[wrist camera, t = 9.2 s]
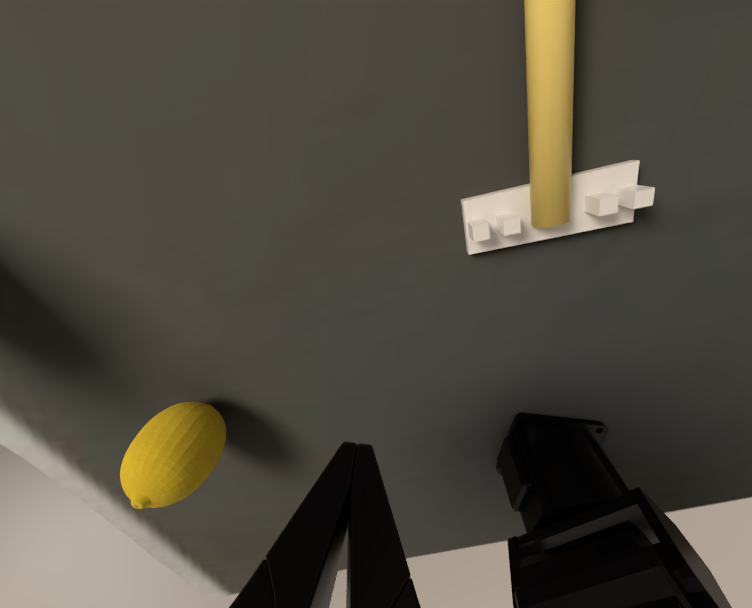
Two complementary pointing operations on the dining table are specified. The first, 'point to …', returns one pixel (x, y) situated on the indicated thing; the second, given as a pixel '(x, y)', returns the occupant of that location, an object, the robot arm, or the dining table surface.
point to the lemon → (173, 454)
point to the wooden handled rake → (552, 154)
